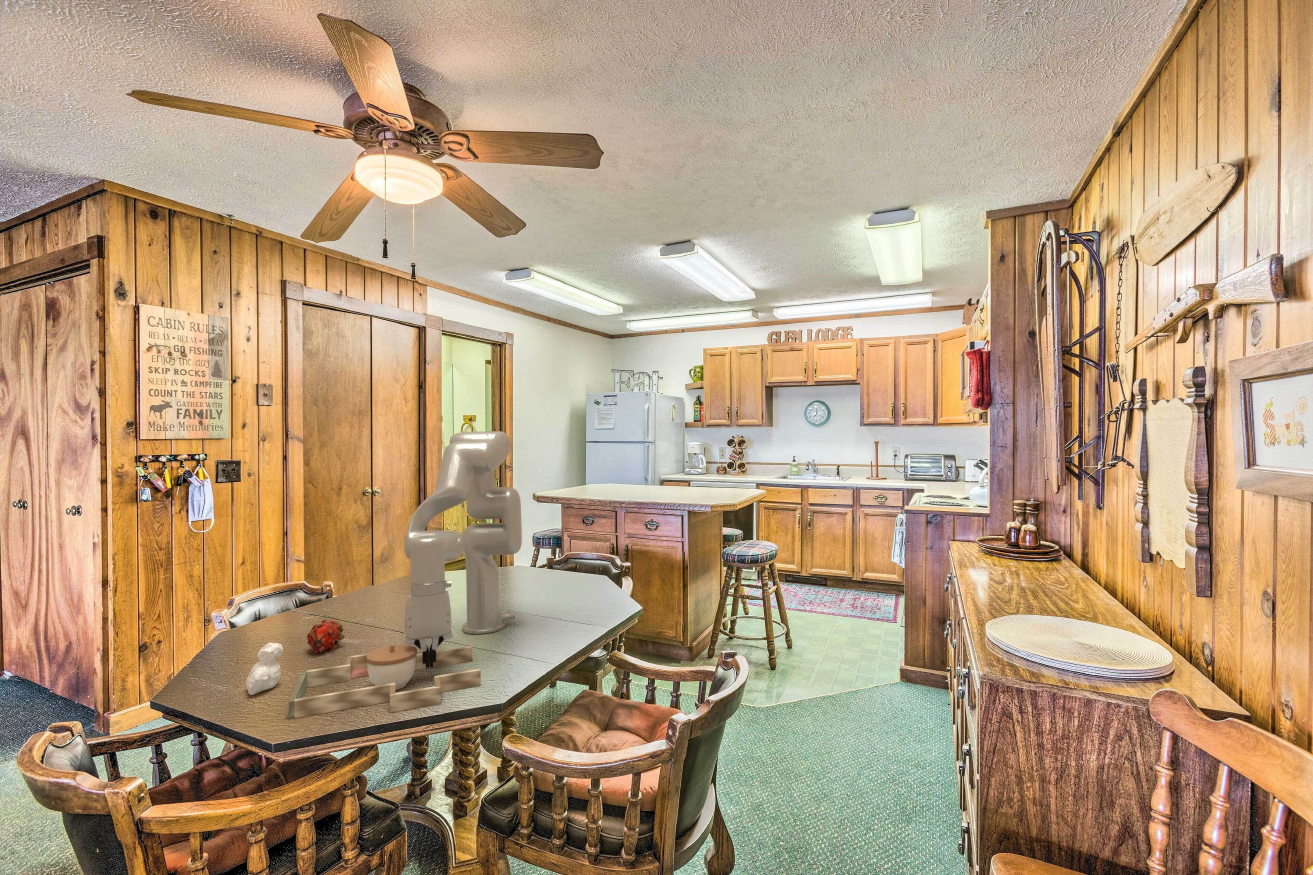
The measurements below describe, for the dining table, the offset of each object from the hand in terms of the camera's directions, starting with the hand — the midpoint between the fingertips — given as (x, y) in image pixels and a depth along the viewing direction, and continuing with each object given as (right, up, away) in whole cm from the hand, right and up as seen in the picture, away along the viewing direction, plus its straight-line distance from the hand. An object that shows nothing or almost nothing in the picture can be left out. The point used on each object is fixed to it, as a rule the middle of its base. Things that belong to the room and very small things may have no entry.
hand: (429, 665), depth 140 cm
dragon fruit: (-37, -5, +22) cm, 44 cm away
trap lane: (-8, -4, -3) cm, 9 cm away
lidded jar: (-7, -4, -3) cm, 9 cm away
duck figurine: (-37, -4, -3) cm, 38 cm away
